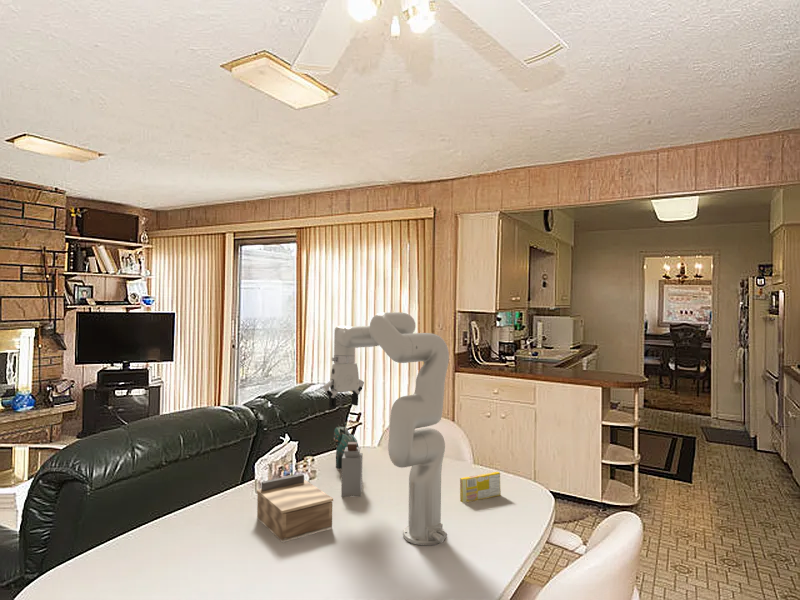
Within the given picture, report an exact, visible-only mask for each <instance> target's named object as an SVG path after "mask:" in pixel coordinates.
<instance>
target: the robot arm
mask: <svg viewBox="0 0 800 600" xmlns="http://www.w3.org/2000/svg"><path fill="white" fill-rule="evenodd" d="M415 330H416V322H415V319H414V318H413V317H412V316H411V315H410V314H408V313H406V312H400V311H399V312H394V311H393V312H380V313H376V314H374V316H373V317H372V318H371V320H370V324H369V325H363V326H362V325H361V326H360V325H359V326H357V325H356V326H355V325H354V326H352V325H337V326H336V327H335V328H334V331H333V332H334V333H333V334H334V341H333V343H334V344H333V345H334V346H333V347H334V348H333V357H331V361H332V362H333V363H332V366H331V371H330V380H329V381H327V383H325V384H324V385H323V386H322V388H323V390H324V393H325V394H326V395H327V397H328V405H329V408H330V409H332V410H336V408H337V398H336V396H337V394H338V393H347V392H352V393H351V405H353V406H355V407H358V405H359V395H360V394H361V392H362V391H363V387H364V386H365V382H364V381H363V380H361V379H360V377H359V368H358V365H357V364H358V363H356V361H355V360H356V349H358V348H372V347H381V349H382V350H383V351H384V352H385V354H386V355H387V356H388V357H389V359H391V360H392V361H394V362H395V363H398V364H406V363H417V362H418V363H419V362H423V365H422V366H421V367H420V369H419V371H418V373H417V375H416V378H415V387H414V388H415V389H414V393H413V394H411V395H409V394H408V395H404V396H400V397H398V398H397V399H396V400H395V401H394V403H393V404H392V406H391V409H390V414H389V415H390V416H389V417H390V418H389V428H388V429H389V430H388V449H387V450H388V455H389V459H390V461H391V463H392V465H394V466H395V467H397V468H401V469H402V468H409V467H411V468H410V471H409V475H408V526H406V527H405V528H404V529H403V531H402V532H403V533H402V535H403V538H404V539H405V540H406V541H407V542H409V543H411V544H413V545H417V546H418V545H419V546H433V545H438V544H440V543H441V544H442V543H443V542H444V540H445V539H446V538H447V537H448V533H447V532H446V530H445V529H444V528H443V523H442V522H441V521H442V518H441V516H442V508H441V507H442V470H443V469H442V468H443V461H444V455H445V452H446V451H445V450H446V442H445V437H444V436H443V434H442V433H441V432H440V431H439V430H437V429H435V428H429V427H431V426H434V425H437V424H438V423H440V422H441V420H442V417H443V411H444V410H443V409H444V400H445V399H444V398H445V385H446V384H445V383H446V377H447V373H448V368H449V363H450V362H449V361H450V352H449V348H448V345H447V343H446V341H445V340H444V339H443V338H442V337H441V336H440V335H438V334H435V333H431V332H415ZM414 332H415V333H414ZM329 388H330V389H329ZM425 427H426V428H425Z"/></svg>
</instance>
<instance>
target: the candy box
mask: <svg viewBox="0 0 800 600" xmlns="http://www.w3.org/2000/svg"><path fill="white" fill-rule="evenodd" d="M459 486H460V487H459V490H460V492H459V493H460V495H459V501H460V502H461V503H463V504H464V503H469V502H475V501H479V500H485V499H489V498H494V497H500V496H502V495H501V491H502V490H501V472H500V471H493V472H487V473H482V474H477V475H472V476H465V477H460V478H459Z"/></svg>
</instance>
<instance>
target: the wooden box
mask: <svg viewBox="0 0 800 600" xmlns="http://www.w3.org/2000/svg"><path fill="white" fill-rule="evenodd" d="M256 500H257V502H256V503H257V504H256V505H257V508H256V510H257V511H256V512H257V514H256V515H257V516H256V517H257V520H258V521H259V522H261V524H263V525H264V527H265V528H267V529H268V530H269V531H270V532H271V533H272V534H273V535H274V536H276V538H277V539H279V540H280V542H282V543H286V542H288V541H293V540H296V539H299V538H303V537H307V536H310V535H313V534H319V533H321V532H324V531H329V530H332V529H333V501H332V502H327V503H323V504H319V505H315V506H311V507H307V508H303V509H299V510H295V511H291V512H287V513H283V514H282V513H281V512H279V511H278V510H277V509H276V508H275V507H273V506H272V505H271V504H270V503H269V502H267V501H266V500H265V499H264V498H263V497H262V496H260V495H259V494H258V493H257V499H256Z"/></svg>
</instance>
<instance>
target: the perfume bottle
mask: <svg viewBox="0 0 800 600" xmlns="http://www.w3.org/2000/svg"><path fill="white" fill-rule="evenodd" d="M357 443H358V441H357V442H348V444H347V445H348V447H346V448H345V450H344V454H343V457H342V469H341V491H340V492H341V493H340V494H341V495H340V496H341V497H361V496H362V491H363V452H361V447H360V446H359V447H357ZM359 452H360V453H359Z"/></svg>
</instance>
